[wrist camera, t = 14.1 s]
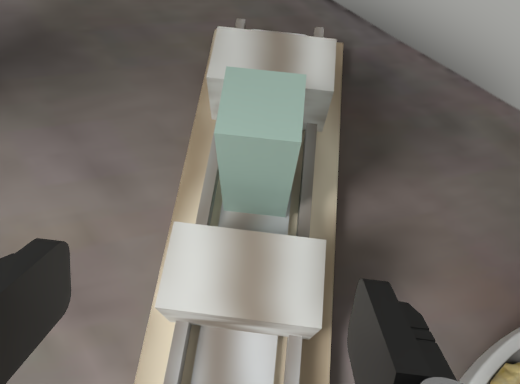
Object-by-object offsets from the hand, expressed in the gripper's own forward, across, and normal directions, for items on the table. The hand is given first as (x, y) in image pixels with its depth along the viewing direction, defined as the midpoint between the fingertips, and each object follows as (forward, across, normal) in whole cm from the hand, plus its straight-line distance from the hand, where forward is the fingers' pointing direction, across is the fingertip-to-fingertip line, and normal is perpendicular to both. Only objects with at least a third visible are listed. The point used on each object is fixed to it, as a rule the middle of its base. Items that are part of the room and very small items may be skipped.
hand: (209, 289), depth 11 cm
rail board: (+21, -1, +4) cm, 22 cm away
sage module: (+20, 0, +3) cm, 20 cm away
